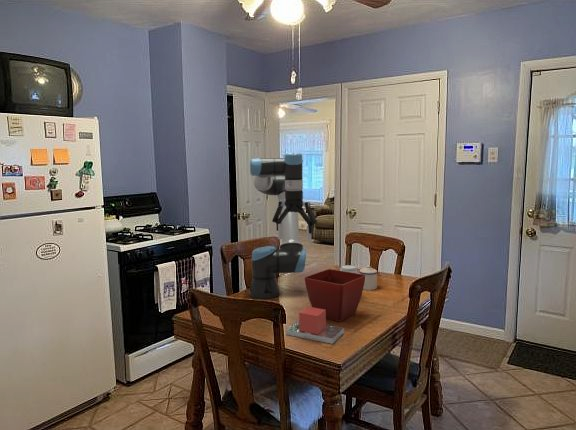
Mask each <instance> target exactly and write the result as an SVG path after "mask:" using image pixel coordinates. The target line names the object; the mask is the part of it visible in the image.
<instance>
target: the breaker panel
mask: <svg viewBox="0 0 576 430" xmlns="http://www.w3.org/2000/svg"><path fill="white" fill-rule="evenodd" d="M344 333H345V327H340V326H335V325H334V324H329V325H328V324H326V328H325V329H323V330H322V331H321V332H320V333H319V334H318V335H317V334H313V333H308V332H303V331H299V319H298V320H297V321H296V322H294V323H293V324H292V325H290V326H289V327H287V328H286V329H285V335H287V336H291V337H296V338H301V339H306V340H311V341H315V342H320V343H326V344H331V345H334V343H336V341H338V340H339V339H340V338H341V337H342V336H343V335H344Z"/></svg>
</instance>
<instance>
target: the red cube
mask: <svg viewBox="0 0 576 430" xmlns="http://www.w3.org/2000/svg"><path fill="white" fill-rule="evenodd" d="M298 317H299V318H298V320H299V331H303V332H308V333H313V334H317V335H318V334H319V333H320V332H321V331H322V330H323V329H325V328H326V325H327V322H326V321H327V318H326V310H325V309H319V308H313V307H312V306H307V307H305V308H304V309H302V310H301V311H299V313H298Z"/></svg>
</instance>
